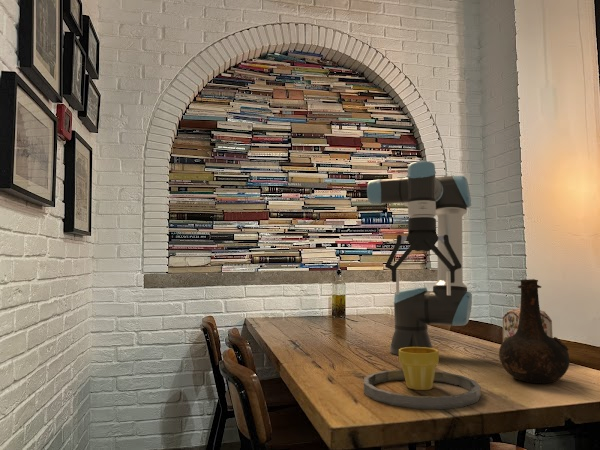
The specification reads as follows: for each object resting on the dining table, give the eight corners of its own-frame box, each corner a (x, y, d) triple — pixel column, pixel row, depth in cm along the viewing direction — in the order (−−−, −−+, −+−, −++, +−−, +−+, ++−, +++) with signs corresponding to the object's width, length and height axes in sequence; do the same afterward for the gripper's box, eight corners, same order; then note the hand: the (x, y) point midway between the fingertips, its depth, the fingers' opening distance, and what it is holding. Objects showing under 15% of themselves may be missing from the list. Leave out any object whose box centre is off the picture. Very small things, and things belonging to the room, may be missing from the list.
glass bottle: (569, 391, 126) (565, 281, 128) (495, 383, 135) (492, 280, 137) (570, 376, 142) (567, 278, 144) (503, 370, 151) (501, 277, 152)
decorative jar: (554, 359, 165) (552, 305, 167) (522, 361, 164) (520, 306, 165) (532, 353, 177) (530, 302, 178) (502, 354, 175) (500, 303, 176)
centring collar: (341, 389, 128) (341, 380, 129) (411, 373, 146) (411, 365, 146) (432, 417, 106) (431, 405, 106) (502, 394, 124) (501, 384, 124)
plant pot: (394, 382, 136) (394, 346, 136) (431, 381, 137) (430, 345, 137) (405, 393, 125) (405, 353, 126) (445, 391, 126) (444, 353, 127)
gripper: (376, 216, 136) (376, 294, 134) (471, 215, 131) (473, 296, 129) (376, 219, 143) (377, 293, 141) (466, 218, 139) (468, 294, 137)
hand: (423, 294), depth 135 cm, fingers open, 13 cm apart
